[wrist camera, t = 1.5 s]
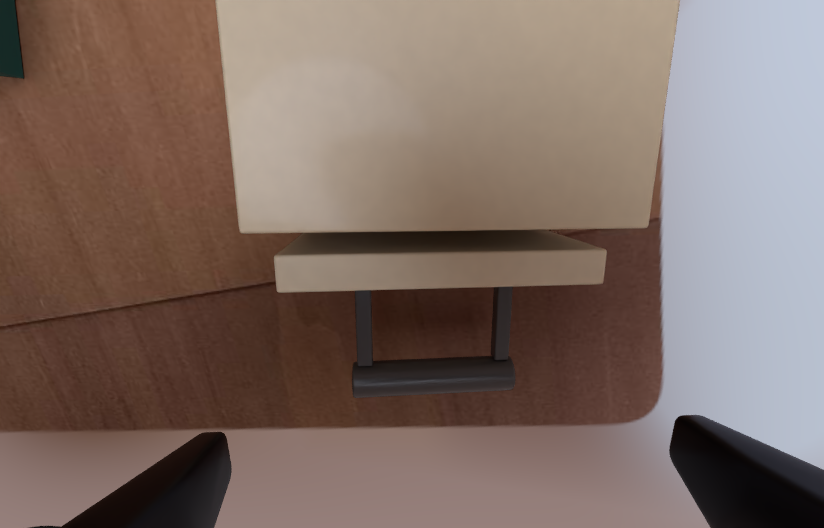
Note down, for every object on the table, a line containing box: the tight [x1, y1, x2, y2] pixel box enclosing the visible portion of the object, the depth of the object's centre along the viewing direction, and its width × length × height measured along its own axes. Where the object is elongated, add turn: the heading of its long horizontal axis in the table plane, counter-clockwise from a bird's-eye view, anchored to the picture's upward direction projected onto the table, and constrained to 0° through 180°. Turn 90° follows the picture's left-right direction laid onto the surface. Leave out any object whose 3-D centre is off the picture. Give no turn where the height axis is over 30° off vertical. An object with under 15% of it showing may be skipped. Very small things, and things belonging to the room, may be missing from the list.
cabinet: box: [215, 0, 680, 234], centre depth 14 cm, size 14×12×9 cm
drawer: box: [274, 230, 607, 398], centre depth 15 cm, size 18×11×7 cm, turn 0°
